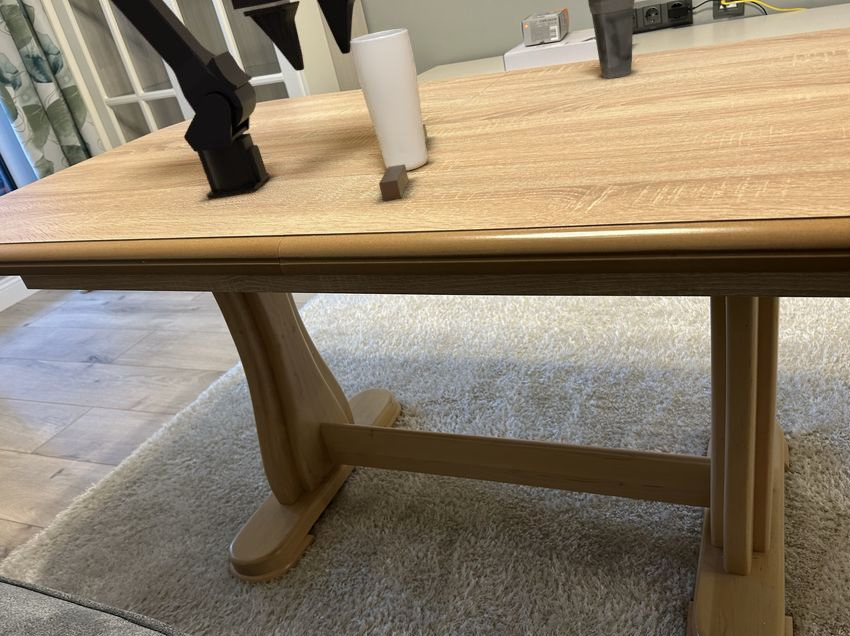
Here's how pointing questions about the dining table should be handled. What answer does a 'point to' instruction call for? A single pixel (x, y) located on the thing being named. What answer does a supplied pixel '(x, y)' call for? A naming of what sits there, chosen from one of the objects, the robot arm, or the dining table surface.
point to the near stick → (393, 182)
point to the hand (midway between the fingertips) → (324, 61)
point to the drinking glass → (392, 95)
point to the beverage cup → (613, 35)
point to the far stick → (425, 133)
